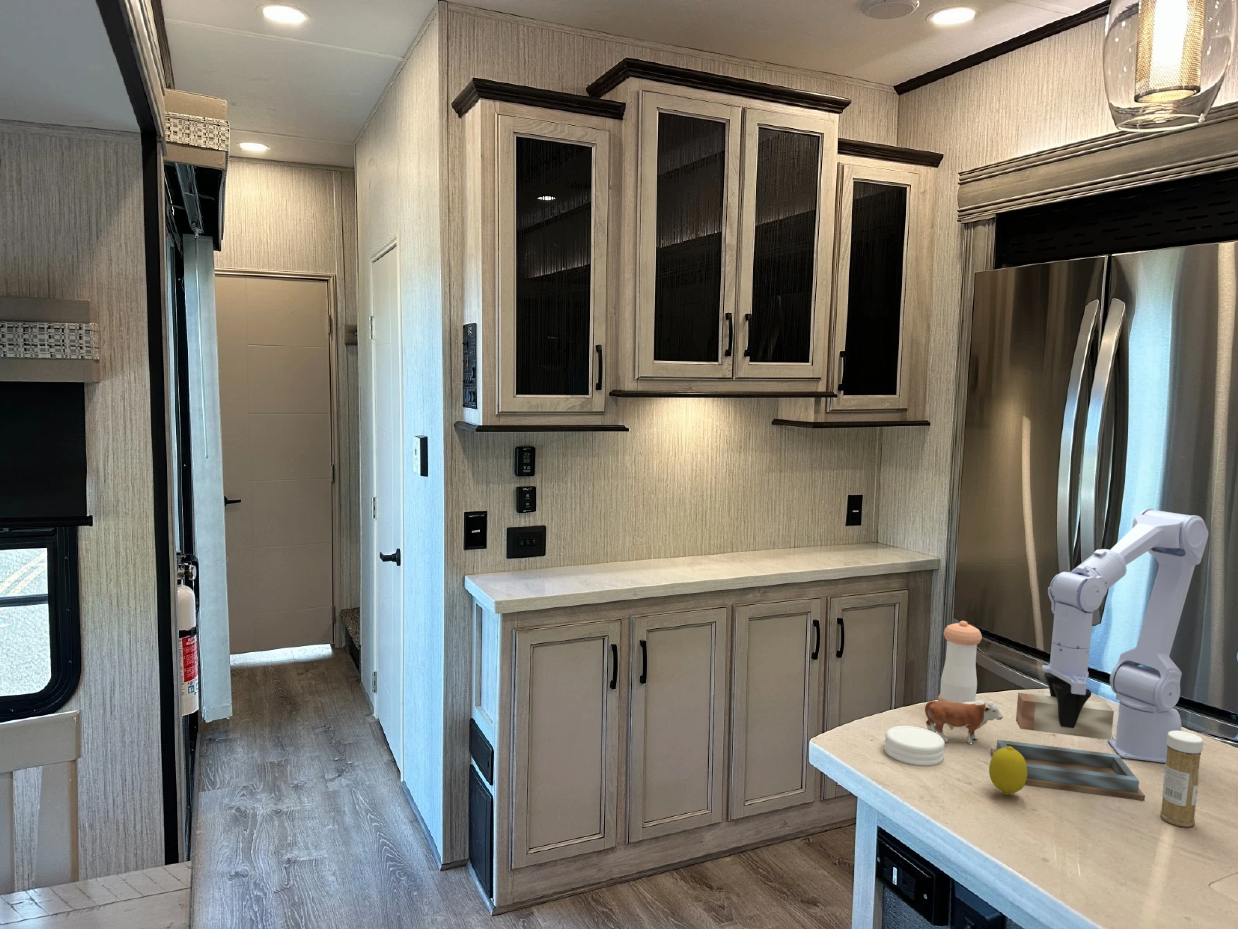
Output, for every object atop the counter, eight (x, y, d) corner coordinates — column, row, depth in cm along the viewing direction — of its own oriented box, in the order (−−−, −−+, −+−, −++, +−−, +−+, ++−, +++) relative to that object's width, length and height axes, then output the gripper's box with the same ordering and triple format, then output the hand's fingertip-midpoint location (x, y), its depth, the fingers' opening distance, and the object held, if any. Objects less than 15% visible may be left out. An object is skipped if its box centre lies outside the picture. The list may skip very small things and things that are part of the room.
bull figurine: (1002, 750, 157) (1005, 706, 156) (923, 741, 160) (926, 698, 159) (996, 740, 161) (1000, 697, 160) (920, 732, 164) (923, 690, 163)
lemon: (1023, 790, 141) (1027, 743, 140) (1026, 806, 136) (1031, 756, 135) (986, 784, 143) (990, 737, 142) (988, 799, 137) (992, 750, 137)
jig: (1120, 769, 151) (1121, 753, 150) (1144, 800, 139) (1146, 783, 139) (990, 752, 156) (991, 737, 155) (1003, 781, 144) (1004, 765, 144)
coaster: (939, 772, 147) (940, 752, 147) (878, 758, 152) (880, 739, 151) (947, 751, 156) (948, 732, 156) (890, 739, 161) (891, 720, 160)
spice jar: (1202, 827, 131) (1211, 740, 130) (1176, 829, 130) (1185, 742, 129) (1176, 812, 136) (1184, 728, 134) (1151, 814, 135) (1160, 730, 133)
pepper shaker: (982, 723, 169) (989, 627, 167) (944, 722, 169) (951, 625, 167) (967, 709, 176) (974, 617, 175) (931, 708, 176) (938, 615, 175)
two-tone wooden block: (1103, 731, 149) (1106, 703, 149) (1111, 740, 145) (1113, 711, 145) (1015, 720, 152) (1018, 692, 152) (1020, 729, 149) (1022, 700, 148)
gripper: (1035, 630, 155) (1029, 704, 157) (1055, 653, 141) (1048, 734, 143) (1078, 634, 154) (1072, 709, 155) (1103, 658, 140) (1095, 740, 141)
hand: (1063, 721), depth 149 cm, fingers closed on two-tone wooden block, 4 cm apart
